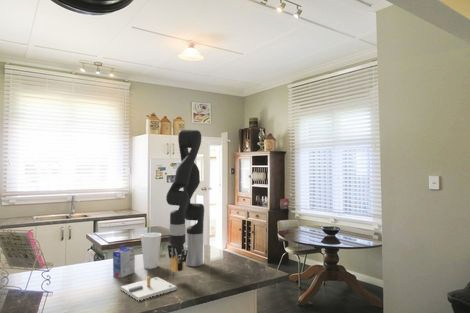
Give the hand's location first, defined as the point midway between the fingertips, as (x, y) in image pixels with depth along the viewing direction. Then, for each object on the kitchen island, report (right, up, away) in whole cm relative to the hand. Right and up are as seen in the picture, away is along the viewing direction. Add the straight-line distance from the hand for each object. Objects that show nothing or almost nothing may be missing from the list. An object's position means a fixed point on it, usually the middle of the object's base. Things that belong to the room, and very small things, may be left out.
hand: (177, 269), depth 153 cm
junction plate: (-10, -5, -11) cm, 16 cm away
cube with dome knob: (0, -1, 0) cm, 1 cm away
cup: (-18, -6, +21) cm, 28 cm away
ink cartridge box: (-28, -6, +8) cm, 30 cm away
